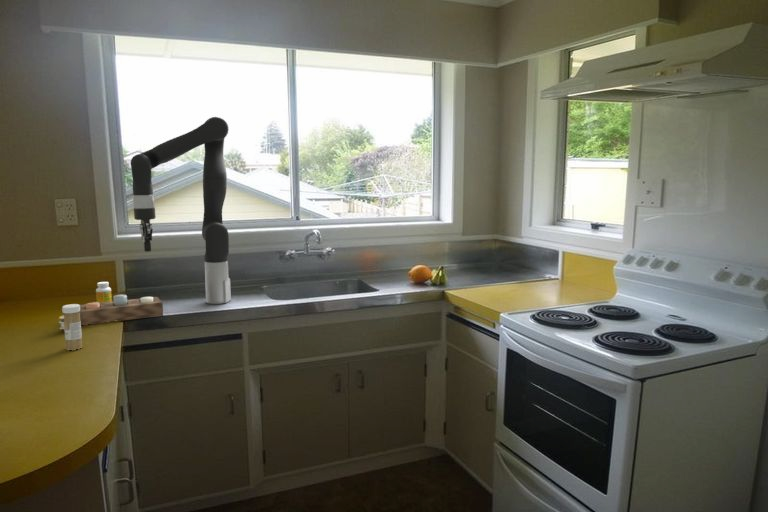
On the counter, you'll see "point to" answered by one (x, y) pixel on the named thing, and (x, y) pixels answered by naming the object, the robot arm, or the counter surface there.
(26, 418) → the counter surface
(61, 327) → the stacked layers on plate
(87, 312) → the button panel
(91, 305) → the brown egg
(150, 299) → the cream button
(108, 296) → the supplement bottle
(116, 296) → the blue-grey egg
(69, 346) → the sprinkles bottle
